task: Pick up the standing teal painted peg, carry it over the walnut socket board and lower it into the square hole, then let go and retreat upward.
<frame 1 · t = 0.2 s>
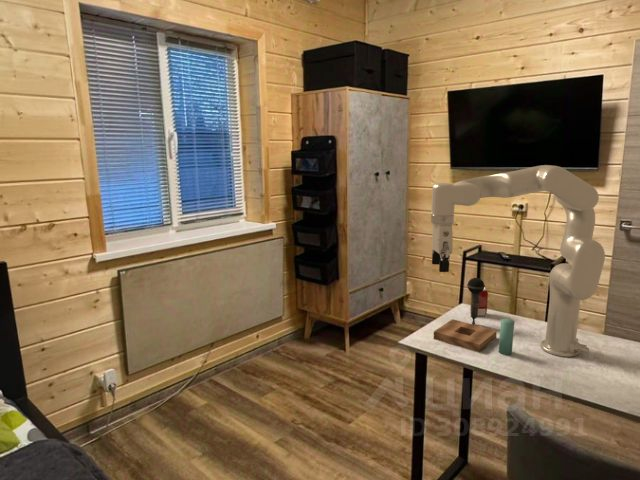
hand: (440, 267, 159), 31 cm above the table, tool pointing down, fingers open, 9 cm apart
socket board: (464, 338, 174), on the table
peg: (505, 352, 162), on the table
soda can: (478, 315, 198), on the table
microphone: (473, 325, 187), on the table
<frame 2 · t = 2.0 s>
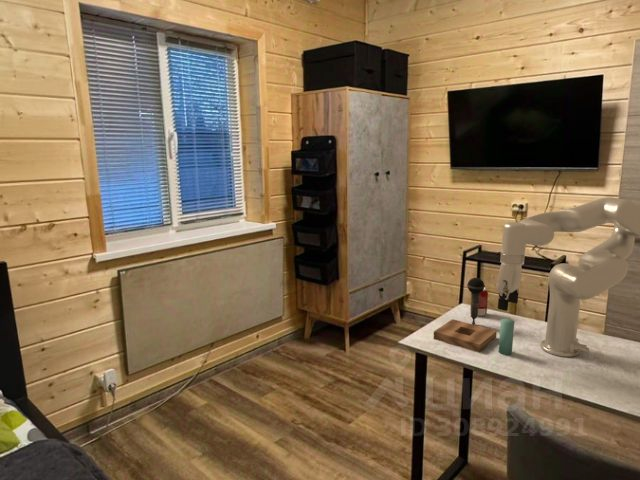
hand: (507, 306, 158), 18 cm above the table, tool pointing down, fingers open, 9 cm apart
nothing on the table moved.
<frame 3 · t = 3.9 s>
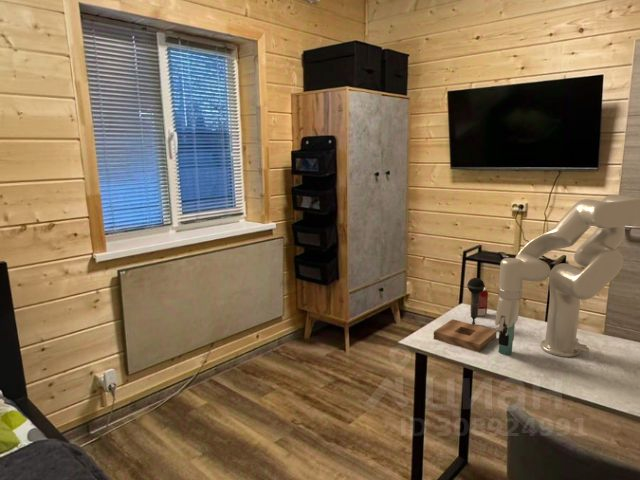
hand: (505, 342, 161), 4 cm above the table, tool pointing down, fingers closed on peg, 4 cm apart
peg: (505, 352, 162), on the table, touching gripper
everything else where it was.
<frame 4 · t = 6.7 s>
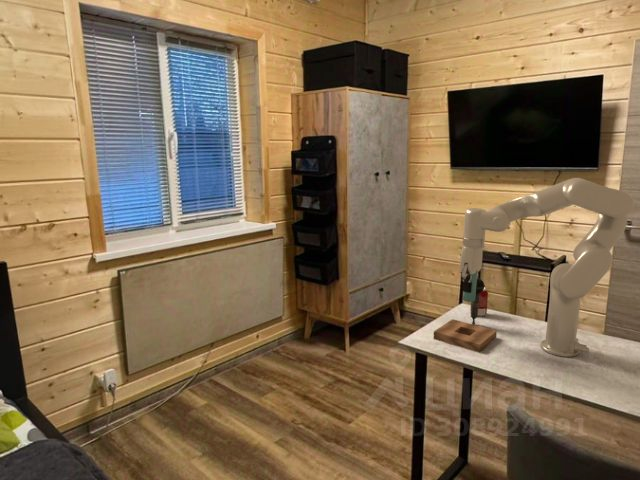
hand: (469, 289, 169), 20 cm above the table, tool pointing down, fingers closed on peg, 4 cm apart
peg: (468, 299, 170), point 16 cm above the table, touching gripper
everything else where it was.
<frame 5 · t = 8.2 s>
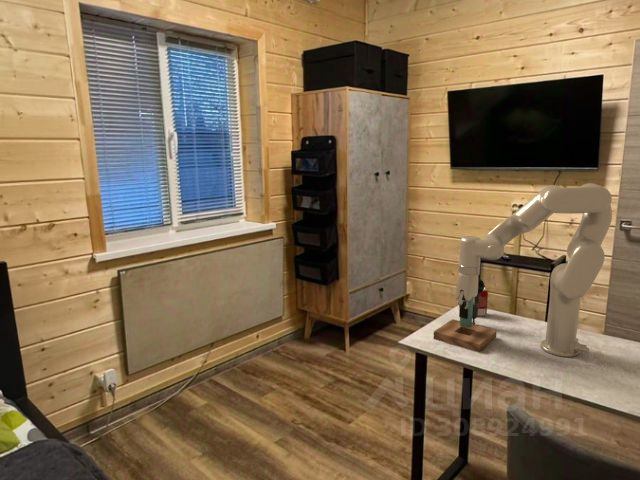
hand: (466, 315, 172), 9 cm above the table, tool pointing down, fingers closed on peg, 4 cm apart
peg: (465, 325, 173), point 5 cm above the table, touching gripper
everything else where it was.
when the fingers open (5 cm above the table, at t = 9.7 s): peg stays where it is, resting in socket board.
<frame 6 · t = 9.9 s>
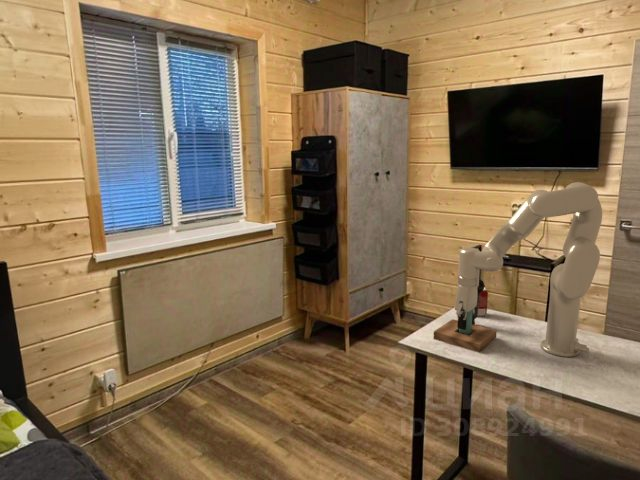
hand: (465, 325, 173), 5 cm above the table, tool pointing down, fingers open, 6 cm apart
peg: (464, 338, 174), resting in socket board
everything else where it was.
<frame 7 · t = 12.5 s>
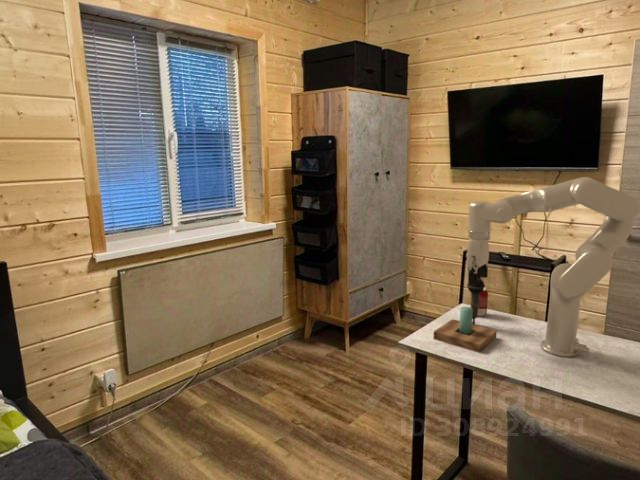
hand: (477, 280, 169), 23 cm above the table, tool pointing down, fingers open, 9 cm apart
nothing on the table moved.
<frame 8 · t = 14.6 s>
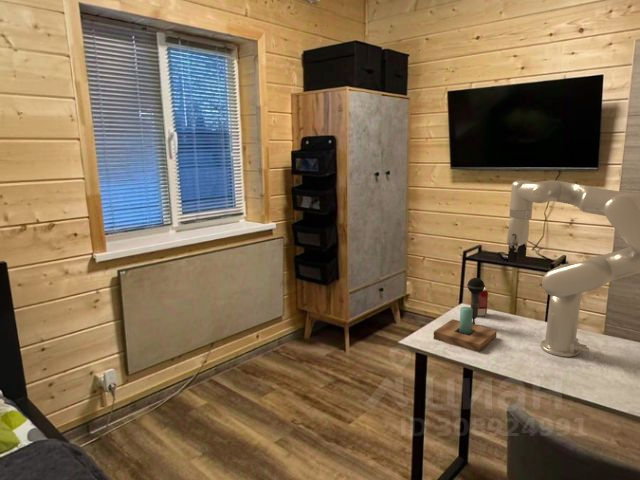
hand: (516, 259, 171), 30 cm above the table, tool pointing down, fingers open, 9 cm apart
nothing on the table moved.
at the end: peg 0.0 cm off-centre on the socket board, point 0.0 cm above the socket board's base; peg tilted 0°; the gripper is holding nothing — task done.
